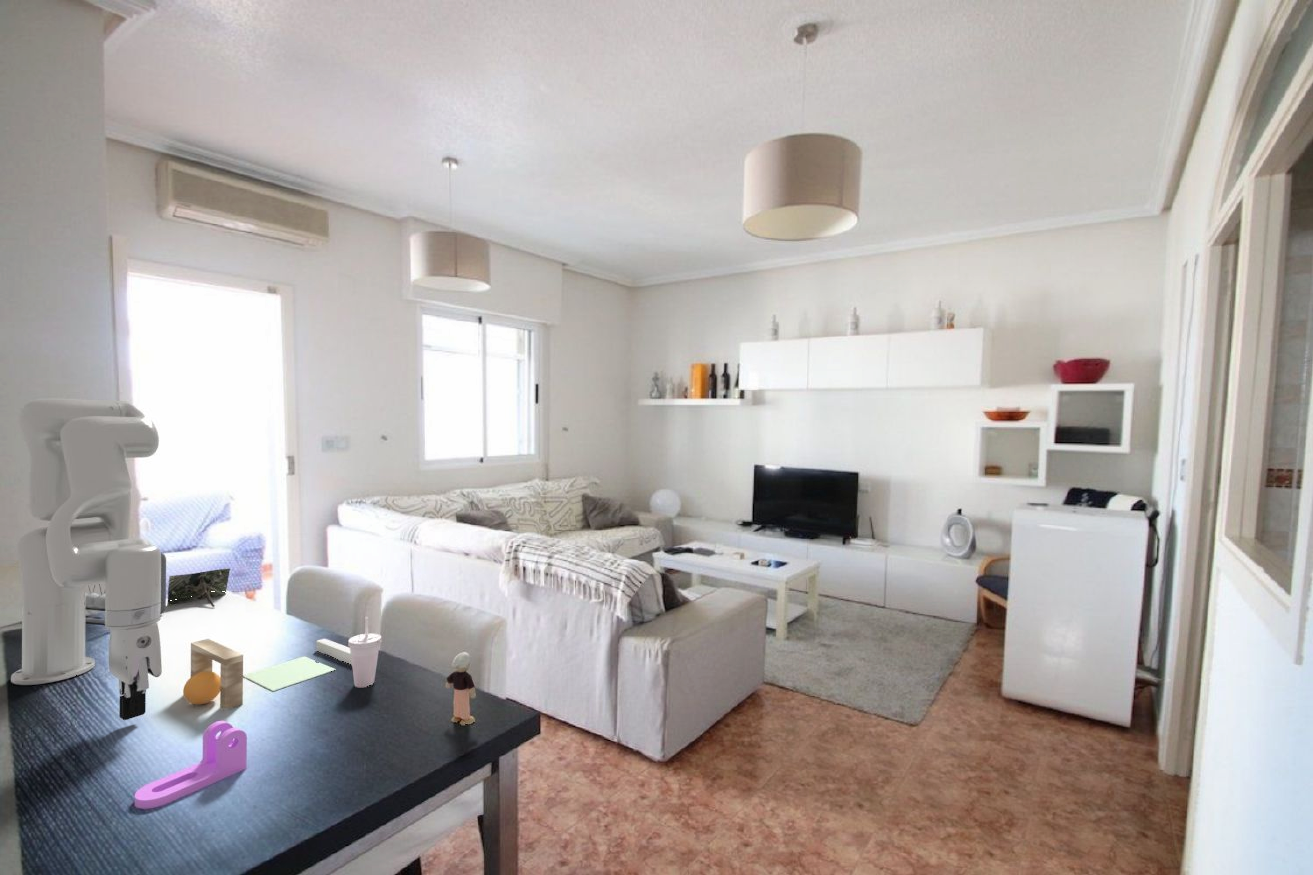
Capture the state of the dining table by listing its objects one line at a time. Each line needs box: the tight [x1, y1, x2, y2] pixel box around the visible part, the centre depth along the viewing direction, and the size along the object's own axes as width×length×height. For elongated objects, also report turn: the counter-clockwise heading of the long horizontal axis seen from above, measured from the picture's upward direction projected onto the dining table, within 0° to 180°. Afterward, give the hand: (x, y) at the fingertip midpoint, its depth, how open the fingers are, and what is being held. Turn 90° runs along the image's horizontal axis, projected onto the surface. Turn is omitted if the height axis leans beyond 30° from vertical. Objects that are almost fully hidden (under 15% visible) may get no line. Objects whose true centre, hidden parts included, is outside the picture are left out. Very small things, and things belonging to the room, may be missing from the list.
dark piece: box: [166, 568, 231, 608], centre depth 176 cm, size 15×10×13 cm
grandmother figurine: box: [444, 651, 477, 726], centre depth 111 cm, size 8×4×13 cm, turn 71°
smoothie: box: [347, 616, 382, 689], centre depth 126 cm, size 6×6×14 cm
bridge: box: [190, 638, 244, 711], centre depth 118 cm, size 3×15×10 cm, turn 58°
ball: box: [182, 671, 220, 706], centre depth 115 cm, size 6×6×6 cm
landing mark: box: [243, 655, 337, 692], centre depth 130 cm, size 13×13×1 cm
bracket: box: [134, 720, 248, 810], centre depth 90 cm, size 13×6×7 cm, turn 150°
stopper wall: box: [315, 638, 352, 666], centre depth 139 cm, size 16×2×2 cm, turn 58°
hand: (132, 715), depth 107 cm, fingers closed
